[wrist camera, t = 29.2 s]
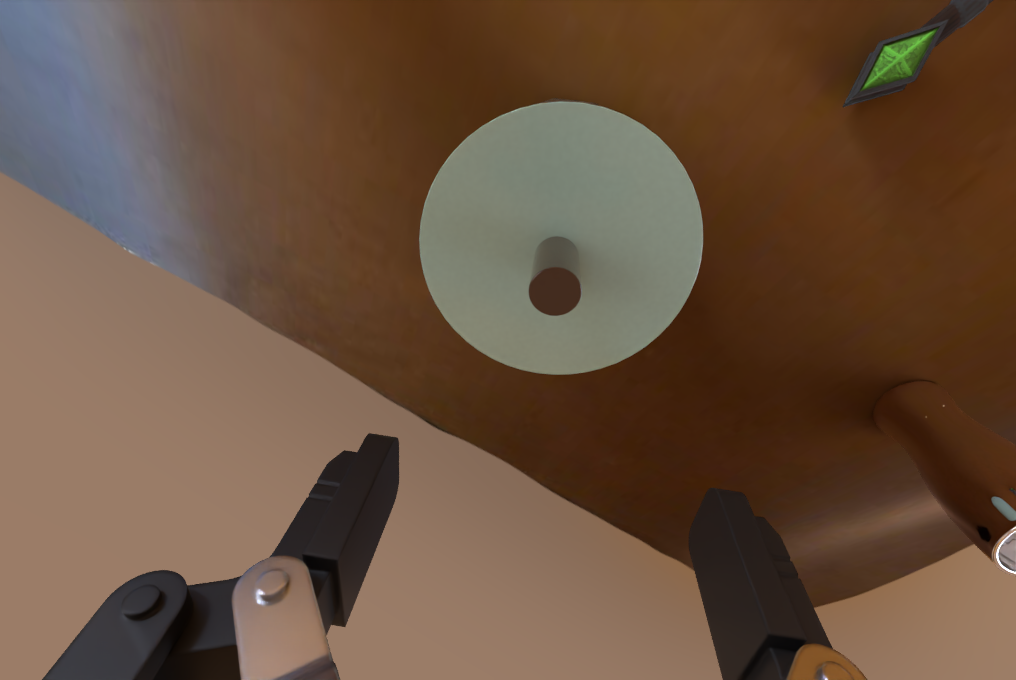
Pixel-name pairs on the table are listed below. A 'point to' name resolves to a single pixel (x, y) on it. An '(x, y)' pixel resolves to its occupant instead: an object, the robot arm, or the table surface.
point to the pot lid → (561, 238)
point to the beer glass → (957, 464)
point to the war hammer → (909, 52)
